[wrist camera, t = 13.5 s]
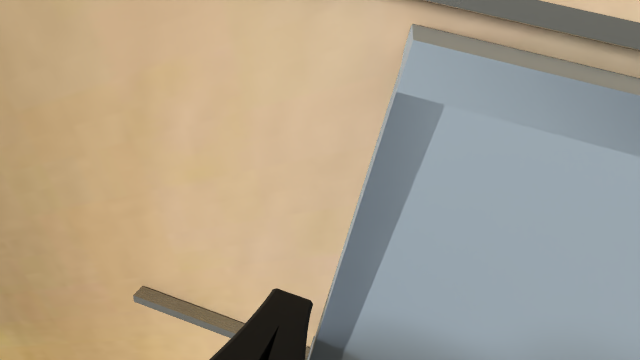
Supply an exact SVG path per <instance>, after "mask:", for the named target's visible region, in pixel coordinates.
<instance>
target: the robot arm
mask: <svg viewBox="0 0 640 360" xmlns="http://www.w3.org/2000/svg"><path fill="white" fill-rule="evenodd" d="M312 306H313V303H312V302H311V300H308V299H305V298H302V297H300V296H297V295H294V294H291V293H288V292H285V291H283V290H280V289H277V288H276V289H273V290H272V292H271V293H270V294H269V296H268V297H267V299H266V300H265V301H264V302H263V304H262V305H261V306H260V307H259V309H258V310H257V311H256V312H255V313H254V314H253V316H252V317H251V318H250V319H249V320H248V321H247V322H246V323H245V325H244V326H243V327H242V328H241V329H240V330H239V331H238V332H237V333H236V334H235V335H234V336H233V337H232V338H231V339H230V340H229V341H228V342H227V343H226V344H225V345H224V346H223V347H222V348H221V349H220V350H219V351H218V352H217V353H216V354H215V355H214V356H213V357H212V358H211V359H210V360H305V354H306V341H307V331H308V323H309V318H310V313H311V309H312Z"/></svg>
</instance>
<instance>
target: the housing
mask: <svg viewBox="0 0 640 360" xmlns="http://www.w3.org/2000/svg"><path fill="white" fill-rule="evenodd" d="M307 360H640V78H636V77H632V76H627V75H623V74H619V73H615V72H611V71H607V70H602V69H598V68H594V67H590V66H586V65H582V64H578V63H573V62H569V61H565V60H561V59H557V58H553V57H548V56H544V55H540V54H536V53H532V52H528V51H523V50H519V49H515V48H511V47H507V46H503V45H499V44H494V43H490V42H486V41H482V40H478V39H474V38H469V37H465V36H461V35H457V34H453V33H449V32H445V31H440V30H436V29H432V28H428V27H424V26H420V25H415V24H412V26H411V29H410V32H409V35H408V38H407V42H406V45H405V48H404V52H403V58H402V64H401V67H400V70H399V74H398V77H397V80H396V83H395V86H394V89H393V93H392V96H391V99H390V102H389V105H388V108H387V111H386V115H385V118H384V121H383V124H382V127H381V130H380V134H379V137H378V140H377V143H376V146H375V149H374V152H373V156H372V159H371V162H370V165H369V168H368V171H367V175H366V178H365V181H364V184H363V187H362V190H361V193H360V197H359V200H358V203H357V206H356V209H355V212H354V216H353V219H352V222H351V225H350V228H349V231H348V234H347V238H346V241H345V244H344V247H343V250H342V253H341V257H340V260H339V263H338V266H337V269H336V272H335V275H334V279H333V282H332V285H331V288H330V291H329V294H328V298H327V301H326V304H325V307H324V310H323V313H322V316H321V320H320V323H319V326H318V329H317V332H316V335H315V336H314V338H313V341H312V344H311V348H310V351H309V354H308V358H307Z"/></svg>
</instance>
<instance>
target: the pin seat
mask: <svg viewBox="0 0 640 360" xmlns="http://www.w3.org/2000/svg"><path fill="white" fill-rule="evenodd" d="M423 1H427V2H431V3H436V4H440V5H444V6H449V7H453V8H457V9H462V10H466V11H470V12H475V13H479V14H483V15H488V16H492V17H496V18H501V19H505V20H509V21H514V22H518V23H522V24H527V25H531V26H535V27H540V28H544V29H548V30H552V31H557V32H561V33H565V34H570V35H574V36H578V37H583V38H587V39H591V40H596V41H600V42H604V43H609V44H613V45H617V46H622V47H626V48H630V49H635V50H639V51H640V23H638V22H633V21H629V20H624V19H620V18H615V17H611V16H606V15H602V14H597V13H593V12H588V11H584V10H579V9H575V8H570V7H566V6H561V5H557V4H552V3H548V2H543V1H539V0H423ZM133 297H134V302H137V303H139V304H142V305H144V306H147V307H150V308H152V309H155V310H158V311H160V312H163V313H166V314H168V315H171V316H174V317H176V318H179V319H182V320H184V321H187V322H190V323H192V324H195V325H197V326H200V327H203V328H205V329H208V330H211V331H213V332H216V333H219V334H221V335H224V336H227V337H229V338H232V337H233V336H234V335H235V334H236V333H237V332H238V331H239V330H240V329H241V328H242V327H243V326H244V325H245V324H244V323H241V322H238V321H235V320H233V319H230V318H227V317H225V316H222V315H219V314H216V313H214V312H211V311H208V310H206V309H203V308H200V307H198V306H195V305H192V304H189V303H187V302H184V301H181V300H179V299H176V298H173V297H171V296H168V295H165V294H162V293H160V292H157V291H154V290H152V289H149V288H146V287H144V286H142V287H141V288H140V289H139V290H138V291H137V292H136V293H135V294H134V295H133ZM309 351H310V348H308V347H306V354H305V360H307V358H308V354H309Z"/></svg>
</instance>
